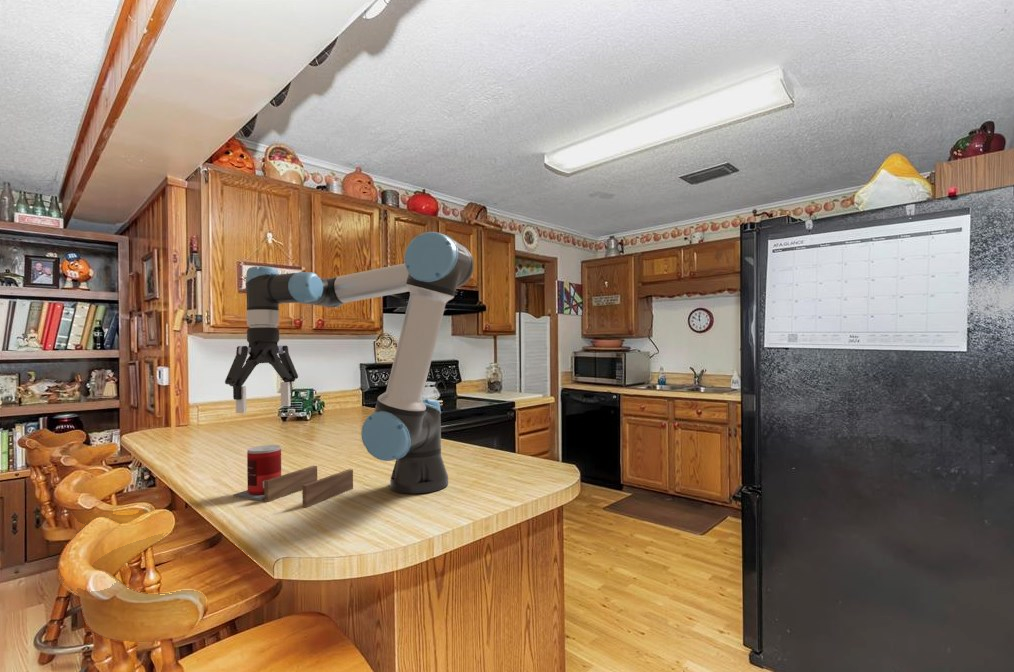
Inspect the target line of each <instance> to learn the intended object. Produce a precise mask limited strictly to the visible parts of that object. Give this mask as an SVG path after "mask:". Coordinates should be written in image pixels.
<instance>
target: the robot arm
mask: <svg viewBox="0 0 1014 672" xmlns="http://www.w3.org/2000/svg"><path fill="white" fill-rule="evenodd" d="M403 258H404V260H403V261H404V263H400V264H395V265H390V266H385V267H384V266H383V267H380V268H374V269H370V270H364V271H359V272H354V273H349V274H344V275H338V276H335V277H329V278H322V277H320V276H318V274H317V273H315V272H311V271H309V272H308V271H307V272H305V271H299V272H293V273H291V272H290V273H282V274H281V273H279V271H278V269H277V268H274V267H271V266H251V267H249V268H247V269H246V273H245V274H246V277H245V292H246V293H245V295H246V296H245V297H246V326H247V327H248V328H247V329H246V342H247V343H248V346H247V345H237V347H236V353H235V357H234V359H233V362H232V364H231V366H230V369H229V371H228V372H227V376H226V378H225V380H224V384H225V385H229V387H232V389H233V390H232V391H233V392H232V393H233V394H232V396H233V400H235V413H236V414H247V386H245V385H244V384H245V382H246V381H247V379H248V378H249V376H251V373H252V372H253V371H254V369H255V368H256V367H257V366H258V365H259V364H269V365H271V366H272V368H273V369H274V370H275V372H276V373H277V374H278V376H279V378H281V380H282V381H281V382H280V407H291V394H292V393H293V385H292V384H293V382H295V381H296V380H297V379H298V378H299V374H298V372H297V370H296V368H295V366H294V363H293V361H292V359H291V355H290V354H289V353H290V352H289V346H288V345H278V343H279V342H280V328H278V327H279V326H280V309H279V308H280V304H294V303H295V304H305V305H312V306H320V307H326V308H338V307H341V306H342V305H343V304H345V303H352V302H357V301H363V300H368V299H369V300H370V299H373V298H374V299H375V298H379V297H385V296H392V295H397V294H398V295H399V294H402V293H407V292H409V298H408V302H407V308H406V310H405V314H404V317H403V321H402V325H401V330H400V335H399V338H398V342H397V345H396V351H395V354H394V359H393V361H392V366H391V370H390V374H389V377H388V378H389V379H388V384H387V386H386V390H385V391H384V392H383V393H382V394H380V395H379V396H377V400H376V403H375V406H374V407H375V408H374V412H373V413H371V414H370V415H368V417H367V418H366V419H365V420H364V421H363V424H362V426H361V433H360V435H361V441H362V443H363V446H364V447H365V449H366V451H367V452H368V453H369V454H370V455H371V457H373V458H375V459H377V460H378V461H379V460H380V461H382V462H391V461H395V462H394V466H393V470H392V472H391V475H390V484H389V485H390V486H389V487H390V490H392V491H393V492H395V493H400V494H410V495H411V494H416V495H417V494H427V493H433V492H436V491H440V490H443V489H445V488H446V487H448V485H449V475H448V472H447V469H446V466H445V462H444V460H443V457H442V431H441V429H442V423H441V422H442V419H441V415H442V411H441V402H440V401H439V400H437V399H433V398H431V399H429V398H426V399H425V398H423V396H424V391H425V387H426V384H427V379H428V376H429V371H430V367H431V363H432V359H433V356H434V353H435V352H434V351H435V348H436V344H437V339H438V336H439V332H440V327H441V325H442V320H443V316H444V313H445V308H446V305H447V304H448V302H449V301H451V300H453V299H454V298H455V296H456V290H457V289H458V288H461V287H463V286H464V285H465V284H467V283H468V281H469V280H470V279H471V278H472V276H473V273H474V269H475V263H474V258H473V255H472V254H471V252H470V251H469V249H468V248H466V246H464V245H463V244H461V243H459V242H458V241H456V240H455V239H453V238H452V237H451V236H449V235H446V234H444V233H440V232H436V231H428V232H427V231H426V232H423V233H421V234H418V235H417V236H415V237H414V238H413V239H412V240H411V241H410V242H409V243H408V245H407V247H406V249H405V252H404V257H403ZM248 355H249V356H248Z"/></svg>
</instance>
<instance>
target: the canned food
mask: <svg viewBox="0 0 1014 672" xmlns="http://www.w3.org/2000/svg"><path fill="white" fill-rule="evenodd" d="M281 447H282V446H281V445H277V444H267V445H258V446H253V447H250V448H248V449H247V452H246V453H247V455H246V457H247V458H246V459H247V460H246V461H247V462H246V463H247V464H246V466H247V467H246V468H247V471H246V472H247V478H246V479H247V490H248V493H249V494H251V495H264V494H265V493H264V481H265V480H269V479H272V478H275V477H278V476H282V448H281Z"/></svg>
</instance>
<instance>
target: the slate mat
mask: <svg viewBox="0 0 1014 672" xmlns="http://www.w3.org/2000/svg"><path fill="white" fill-rule="evenodd" d="M232 497H233V498H237V497H239V498H240V499H245V500H252V501H253V500H254V501H259V502H265V494H264V495H251V494H249V493H248V489H246V490H244V491H241V492H236V493H234V494H233V495H232Z"/></svg>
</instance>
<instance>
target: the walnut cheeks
mask: <svg viewBox="0 0 1014 672" xmlns="http://www.w3.org/2000/svg"><path fill="white" fill-rule="evenodd" d="M353 489H354V469H350V468H349V469H345V470H343V471H339V472H337V473H335V474H332V475H329V476H325V477H322V478H320V479H318V466H317V465H311V466H307V467H305V468H302V469H298V470H295V471H292V472H288V473H285V474H281V476H278V477H275V478H272V479H269V480H265V481H264V493H265V500H264V502H266V503H267V502H268V503H269V502H271V501H275V500H278V499H280V497H281V498H283V497H286V496H289V495H292V494H295V493H297V492H299V491H301V493H302V496H301V497H302V508H308V507H311V506H313V505H317V504H319V503H321V502H323V501H326V500H329V499H331V498H333V496H334V497H336V496H338V494H339V495H341V494H344V493H345V491H346V492H348V490H349V491H351V490H353ZM343 492H344V493H343ZM291 493H292V494H291ZM340 493H341V494H340ZM335 495H336V496H335ZM330 497H331V498H330ZM328 498H329V499H328Z"/></svg>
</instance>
